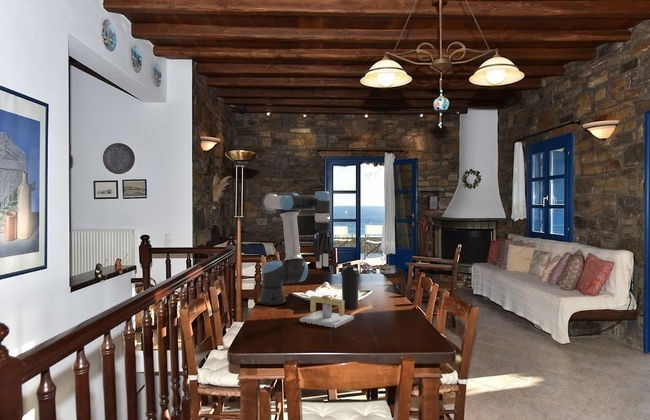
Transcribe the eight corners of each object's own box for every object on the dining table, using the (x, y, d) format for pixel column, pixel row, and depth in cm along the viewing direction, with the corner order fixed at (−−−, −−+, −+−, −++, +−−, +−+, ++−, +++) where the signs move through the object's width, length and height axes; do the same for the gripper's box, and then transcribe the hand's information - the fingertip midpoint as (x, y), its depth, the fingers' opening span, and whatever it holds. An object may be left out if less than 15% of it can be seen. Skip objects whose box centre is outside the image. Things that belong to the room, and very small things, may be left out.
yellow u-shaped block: (309, 311, 219) (309, 295, 219) (314, 309, 223) (314, 293, 223) (340, 317, 210) (340, 299, 210) (345, 314, 214) (345, 297, 214)
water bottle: (359, 305, 247) (359, 264, 247) (359, 309, 237) (359, 267, 237) (341, 304, 248) (341, 264, 248) (340, 309, 238) (340, 266, 238)
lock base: (299, 321, 214) (299, 305, 214) (319, 313, 230) (319, 298, 229) (335, 327, 204) (335, 310, 204) (353, 319, 219) (353, 302, 219)
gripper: (318, 222, 215) (318, 270, 215) (337, 221, 231) (337, 265, 231) (305, 222, 219) (305, 268, 219) (325, 220, 235) (325, 264, 235)
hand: (322, 266), depth 225 cm, fingers open, 6 cm apart
